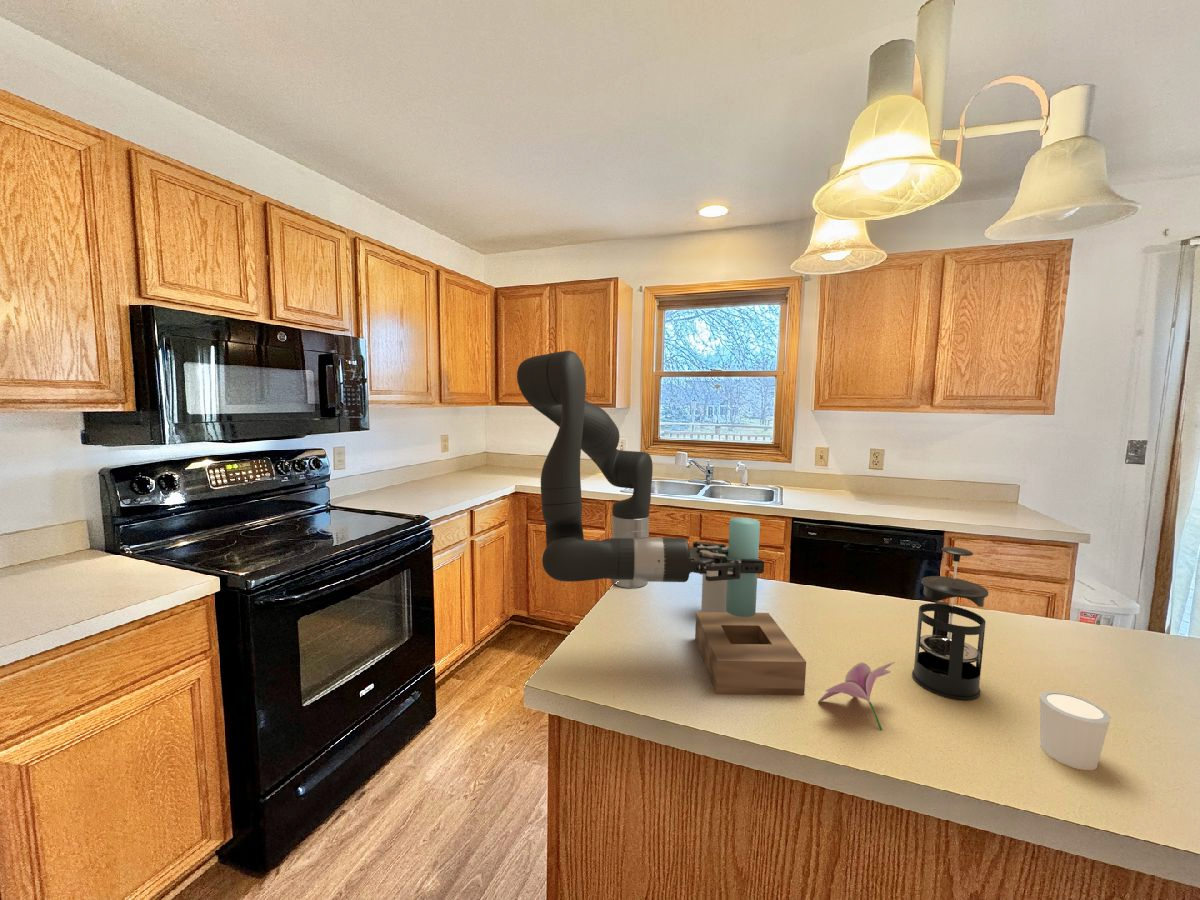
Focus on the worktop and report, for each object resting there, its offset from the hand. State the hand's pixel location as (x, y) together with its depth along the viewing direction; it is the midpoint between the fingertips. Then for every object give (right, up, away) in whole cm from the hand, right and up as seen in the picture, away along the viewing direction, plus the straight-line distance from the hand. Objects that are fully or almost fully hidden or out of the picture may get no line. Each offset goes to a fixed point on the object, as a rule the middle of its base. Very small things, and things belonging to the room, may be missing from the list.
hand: (757, 560), depth 87 cm
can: (-2, -17, +21) cm, 27 cm away
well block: (-2, -19, +2) cm, 19 cm away
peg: (-3, -9, +1) cm, 9 cm away
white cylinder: (+35, -22, -20) cm, 46 cm away
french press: (+30, -20, -3) cm, 36 cm away
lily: (+11, -21, -11) cm, 26 cm away
